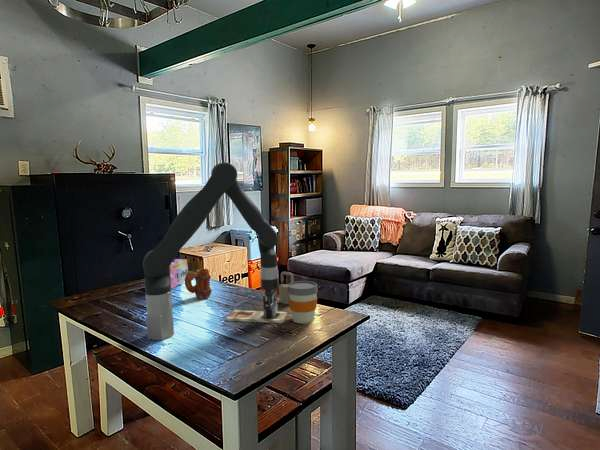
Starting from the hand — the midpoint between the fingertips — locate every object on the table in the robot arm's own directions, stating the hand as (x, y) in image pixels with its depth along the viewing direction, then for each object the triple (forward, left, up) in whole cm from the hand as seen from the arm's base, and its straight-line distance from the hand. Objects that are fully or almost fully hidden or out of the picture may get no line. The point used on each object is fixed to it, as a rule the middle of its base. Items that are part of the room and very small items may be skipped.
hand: (270, 315), depth 161 cm
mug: (+23, +43, -2) cm, 49 cm away
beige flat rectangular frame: (0, +6, -1) cm, 6 cm away
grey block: (0, 0, -1) cm, 1 cm away
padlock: (+21, -3, -2) cm, 21 cm away
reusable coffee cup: (0, -14, -2) cm, 14 cm away
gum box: (+45, +69, -2) cm, 82 cm away
